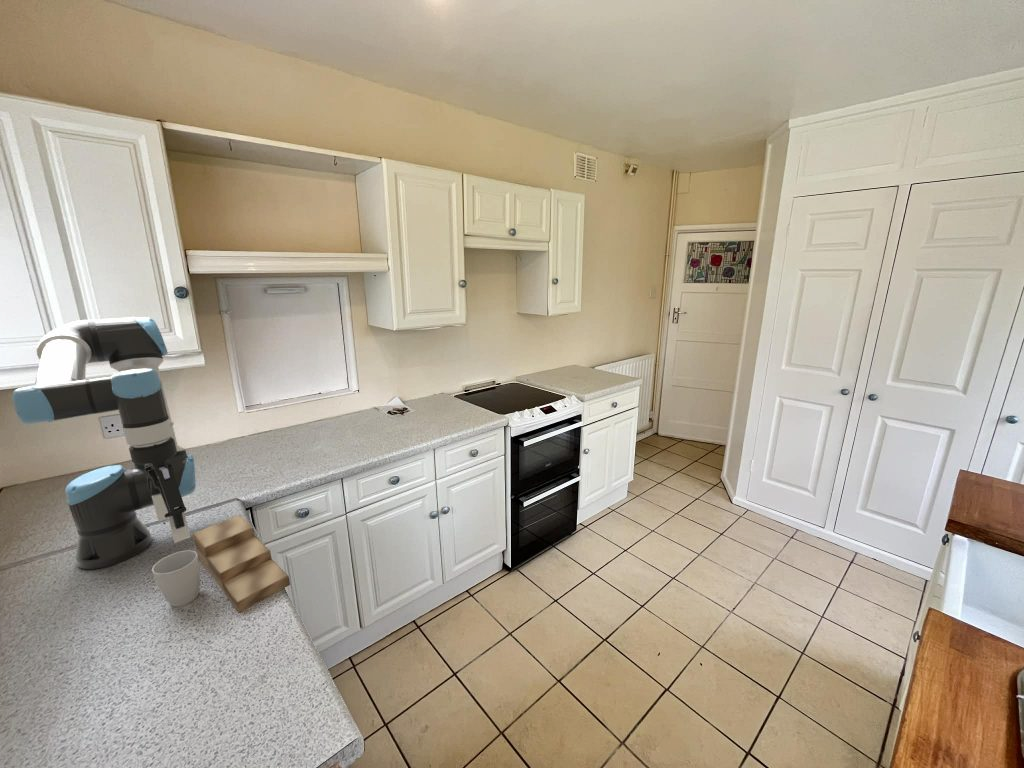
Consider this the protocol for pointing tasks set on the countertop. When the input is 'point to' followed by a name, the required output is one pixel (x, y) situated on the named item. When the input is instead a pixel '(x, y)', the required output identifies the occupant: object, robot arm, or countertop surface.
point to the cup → (178, 577)
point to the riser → (239, 562)
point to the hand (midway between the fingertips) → (173, 528)
